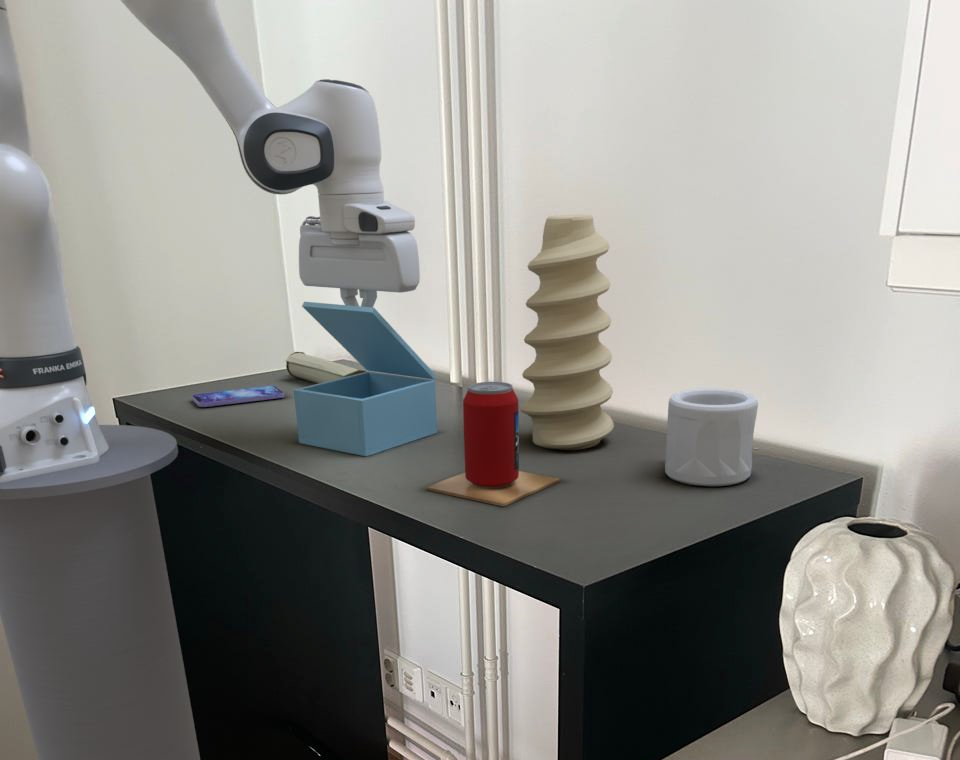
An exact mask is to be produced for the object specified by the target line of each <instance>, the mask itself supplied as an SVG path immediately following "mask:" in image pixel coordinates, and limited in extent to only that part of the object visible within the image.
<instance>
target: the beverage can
mask: <svg viewBox="0 0 960 760" xmlns="http://www.w3.org/2000/svg"><path fill="white" fill-rule="evenodd" d="M467 388H468V390H467V392H466V393H465V396H464V398H463V399H462V413H463V415H462V417H463V421H462V422H463V447H464V448H463V449H464V472H465V476H466V479H467V480H468V481H470V482H471V483H473V484H474V485H475V486H478V487H482V488H500V487H505V486H508V485H510V484H511V483H512V482H513V481H515V480H516V479H517V478H518V476H519V471H520V464H519V463H520V432H519V431H520V430H519V428H520V427H519V425H520V424H519V423H520V422H519V420H520V419H519V414H520V413H519V398H518V396H517V394H516V392H515V390H514V389H513V388H514V387H513V384H511V383H509V382H505V381H481V382H475V383H471V384H470V385H468V387H467Z"/></svg>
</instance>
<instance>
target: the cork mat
mask: <svg viewBox="0 0 960 760" xmlns="http://www.w3.org/2000/svg"><path fill="white" fill-rule="evenodd" d="M560 481H561V478H557V477H552V476H547V475H542V474H537V473H532V472H526V471H521V470H519V476H518V478H517V479H516V480H515V481H513V482H512V483H511V484H510V485H508V486H505V487H500V488H482V487H478V486H475V485H474V484H473V483H471V482H470V481H468V480H467V479H466V476H465V471H464V472H462V473H459V474H457V475H454V476H451V477H449V478H446V479H444V480H441V481H438V482H436V483H433V484H431V485H429V486H426V491H429V492H434V493H439V494H444V495H448V496H453V497H457V498H462V499H467V500H471V501H475V502H479V503H485V504H489V505H494V506H499V507H503V508H504V507H507V506H509V505H510V504H514V503H515V502H518V501H519V500H522V499H524V498H526V497H528V496H531V495H533V494H535V493H537V492H540V491H542V490H544V489H546V488H549V487H551V486H553V485H555V484H557V483H561V482H560Z"/></svg>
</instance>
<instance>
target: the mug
mask: <svg viewBox="0 0 960 760" xmlns="http://www.w3.org/2000/svg"><path fill="white" fill-rule="evenodd" d="M758 406H759V402H758V399H757V397H755V395H753V394H751V393H748V392H746V391H745V392H744V391H741V390H736V389H729V388H728V389H727V388H693V389H685V390H682V391H678V392H676V393H674V394H672V395H671V396H670V397H669V399H668V407H667V425H666V451H665V462H664V473H665V474H666V475H667V476H668V477H669V478H670V479H671V480H673V481H674V482H675V481H676V482H678V483H681V484H686V485H691V486H701V487H723V486H725V487H726V486H732V485H736V484H740V483H743V482H744V481H746V480H747V479H748V478H749V477H750V476H751V474H752V468H753V442H754V433H755V427H756V421H757V414H758V408H759V407H758Z"/></svg>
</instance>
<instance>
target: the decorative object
mask: <svg viewBox="0 0 960 760" xmlns="http://www.w3.org/2000/svg"><path fill="white" fill-rule="evenodd" d="M543 226H544V227H543V233H542V242H541V243H542V245H541V249H540V252H539V253H537V255H536V256H535V257H534V258H532V259H531V260H530V261H529V262H528V264H527V266H526V267H527V269H528V271H530V272H532V273H534V274H535V275H536V276H537V277H538V279H539V287H538V289H537V291H535V292H534V293H533V294H532V295H531V296H530V297H529V298H528V299H527V300H526V302H525V306H526V308H527V309H529V310H532V311H533V312H535V313H536V316H537V323H536V326H535V327H534V328H533V329H532V330H531V331H529V332H528V333H527V334H526V335H525V336H524V339H523V341H524V343H525V344H526V345H529V346H530V347H532V348H533V349H534V351H535V357H534V358H535V359H534V361H533V362H532V363H531V364H530V365H529V366H528V367H527V368H525V369H524V370H523V372H522V374H521V376H522V378H523V379H525V380H527V381H528V382H530V383H532V385H533V388H534V389H533V394H532V396H530V398H529V399H528V400H526V401H525V402H524V403H522V405H521V406H520V411H521V413H522V414H525V415H527V416H529V417H530V418H531V422H532V443H533V444H535V446H539V447H540V448H544V449H548V450H549V449H550V450H559V451H561V450H562V451H576V450H584V449H588V448H592V447H595V446H597V445H598V444H600V442H601V440H603V439H604V438H606V437H608V436H609V435H610V434H611V433H612V431H613V429H614V427H615V424H614V421H613V419H612V418H611V416H610V415H609V414H608V413H606V412H605V411H604V410H602V407H601V405H604V404H605V403H607V402H608V401H609V400H610V399H611V398H612V396H613V393H614V390H613V387H612V385H611V384H610V382H608V381H607V380H606V379H605V378H603V377H602V376H601V374H600V372H601V371H600V370H601V369H604V368H606V367H607V366H609V365H610V364H611V361H612V360H613V355H612V352H611V350H610V349H609V348H608V347H607V346H605V344H603V343H602V342H601V341H600V338H599V335H600V334H601V333H603V332H604V331H606V330H608V329H609V328H610V326H611V323H612V318H611V316H610V315H609V314H608V313H607V312H606V311H605V310H604V309H602V307H601V306H599V302H598V298H599V297H600V296H601V295H603V294H606V292H608V291H609V289H610V287H611V282H610V279H609V278H608V277H607V275H605V274H603V273H602V272H601V271H600V270H599V268H598V265H597V261H598V259H599V258H600V257H602V256H604V255H605V254H607V253H608V251H609V249H610V247H611V246H610V244H609V242H608V240H607V239H606V238H604V237H603V235H601V234H600V233H598V232H597V231H596V227H595V223H594V217H593V216H592V215H591V214H556V215H549V216H547V217H546V219H545V222H544V225H543Z"/></svg>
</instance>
